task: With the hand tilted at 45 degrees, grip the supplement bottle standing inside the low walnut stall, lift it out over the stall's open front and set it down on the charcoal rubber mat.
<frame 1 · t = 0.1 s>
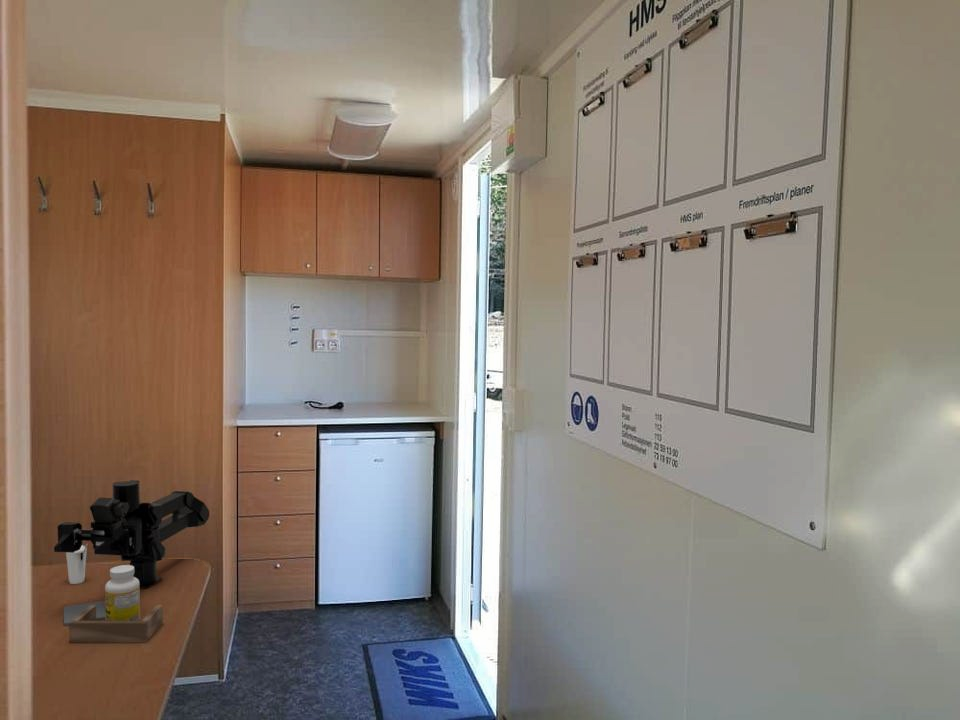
hand: (74, 550, 155), 17 cm above the table, tool horizontal, fingers open, 9 cm apart
charcoal mat: (89, 613, 163), on the table
supplement bottle: (122, 628, 157), on the table
milkshake: (78, 582, 181), on the table
walnut stall: (122, 627, 157), on the table
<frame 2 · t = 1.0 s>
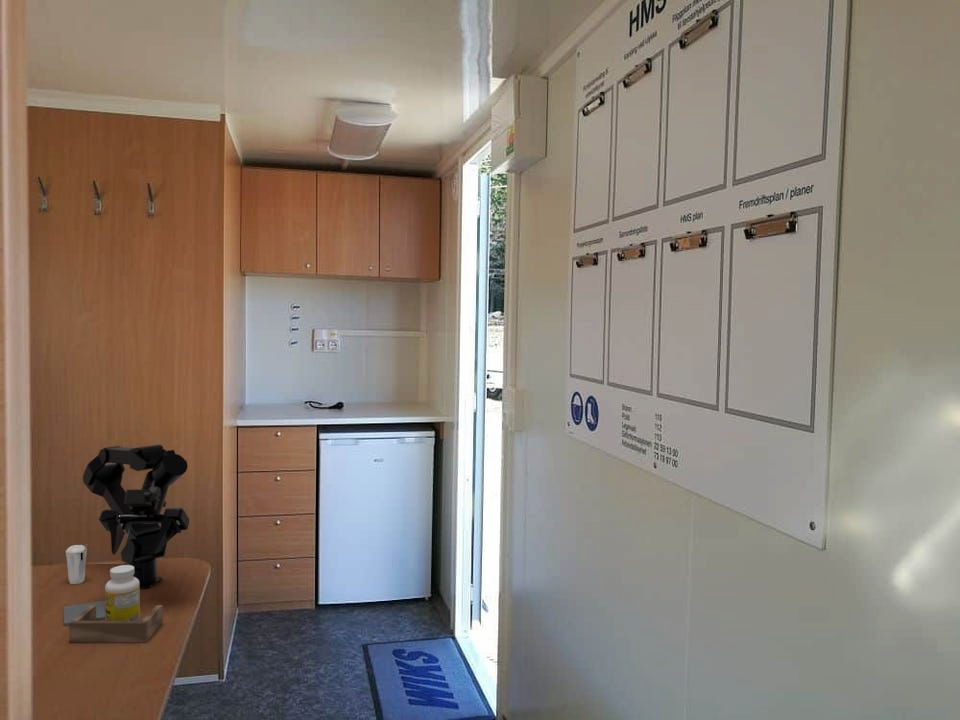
hand: (134, 553, 163), 14 cm above the table, tool tilted 45°, fingers open, 9 cm apart
nothing on the table moved.
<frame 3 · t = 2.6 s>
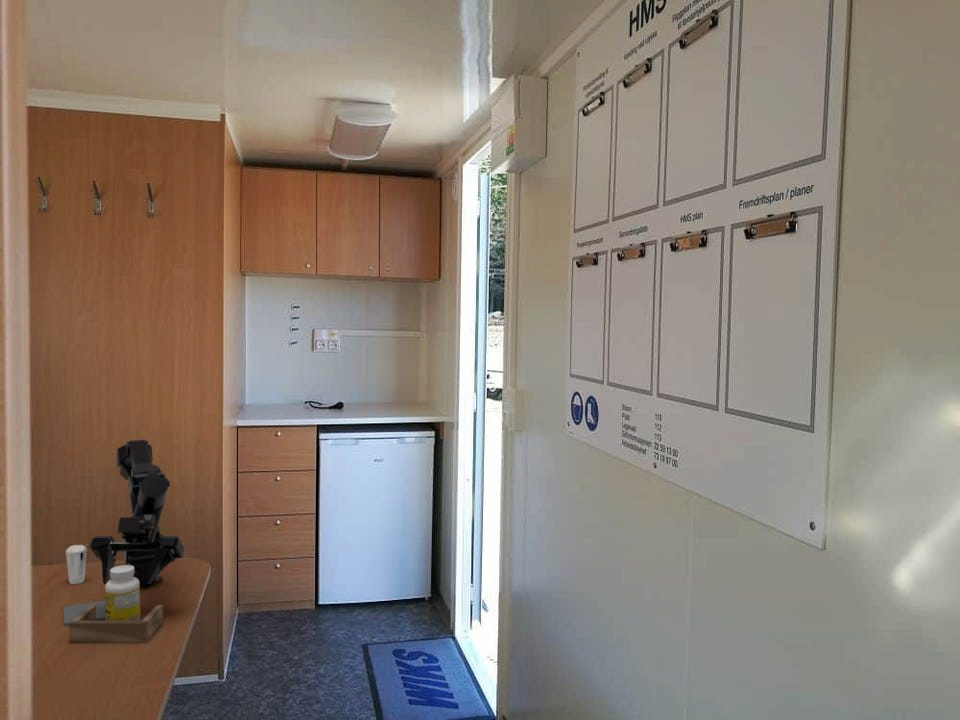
hand: (126, 583, 158), 9 cm above the table, tool tilted 45°, fingers open, 9 cm apart
nothing on the table moved.
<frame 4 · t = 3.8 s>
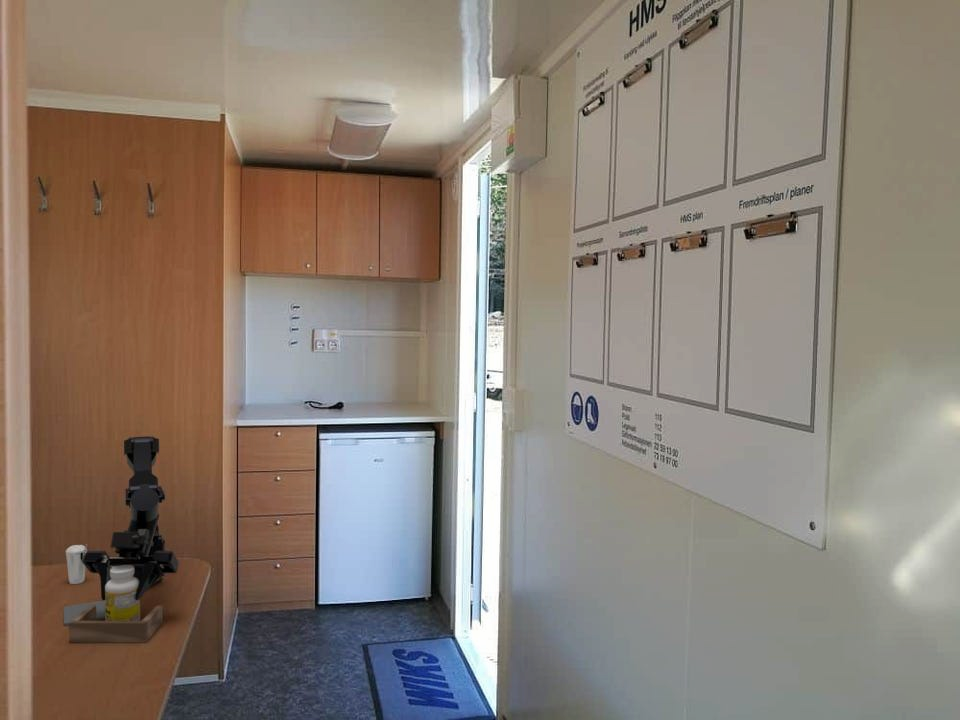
hand: (119, 599, 155), 7 cm above the table, tool tilted 45°, fingers closed on supplement bottle, 7 cm apart
supplement bottle: (122, 628, 157), on the table, touching gripper
everything else where it was.
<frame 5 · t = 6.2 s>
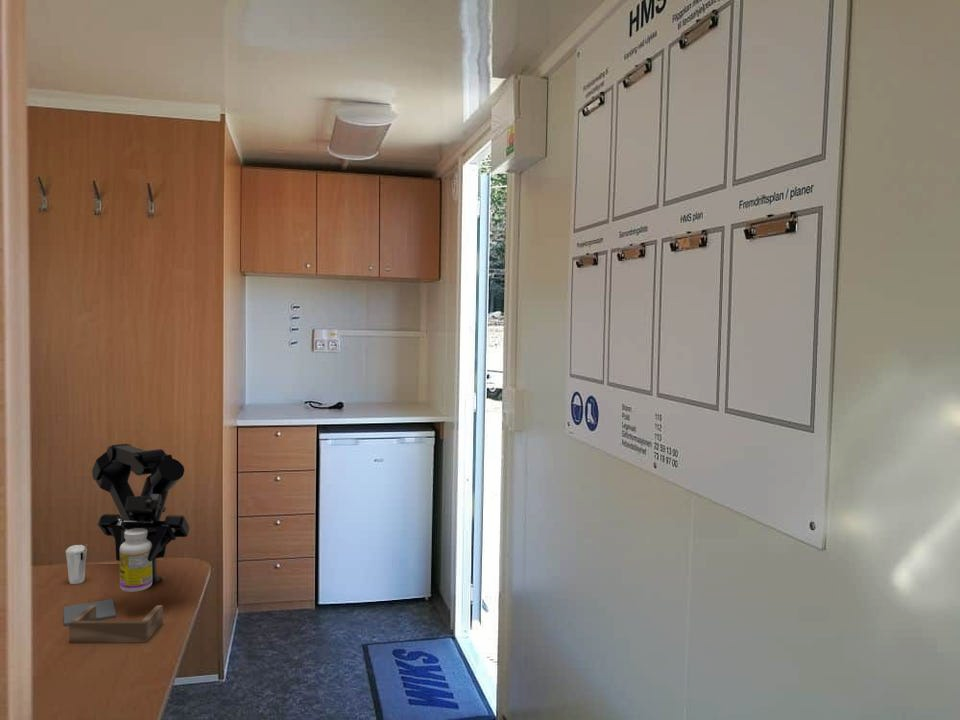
hand: (133, 560, 162), 12 cm above the table, tool tilted 45°, fingers closed on supplement bottle, 7 cm apart
supplement bottle: (136, 588, 164), point 5 cm above the table, touching gripper
everything else where it was.
when the fingers open (8 cm above the table, at t = 8.5 s): supplement bottle stays where it is, resting on charcoal mat.
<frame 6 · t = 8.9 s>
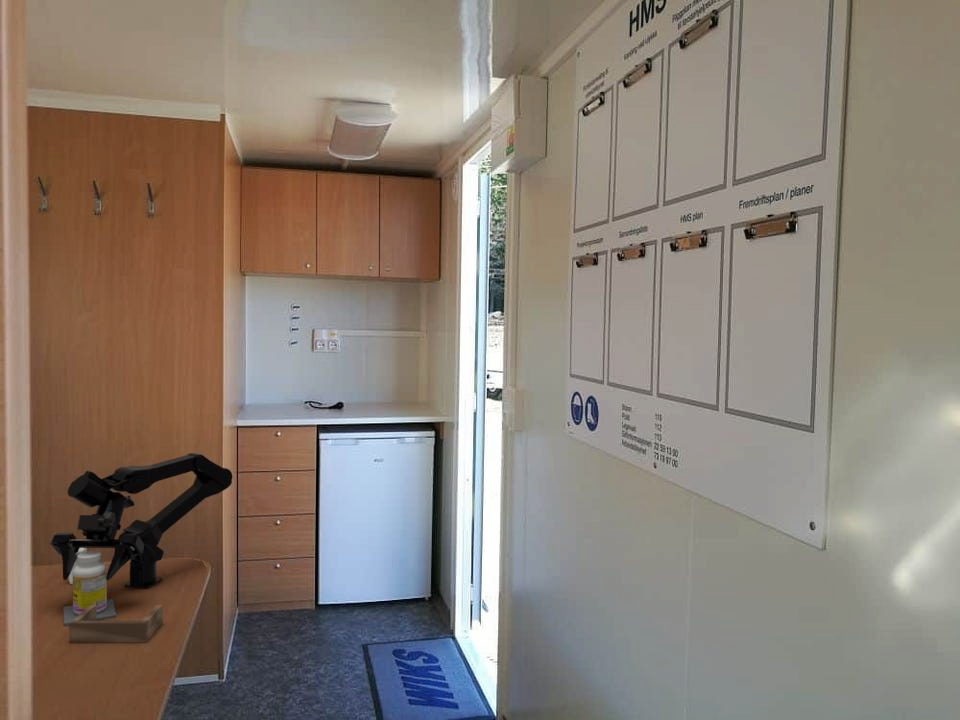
hand: (86, 579, 161), 8 cm above the table, tool tilted 45°, fingers open, 9 cm apart
supplement bottle: (90, 611, 164), resting on charcoal mat
everything else where it was.
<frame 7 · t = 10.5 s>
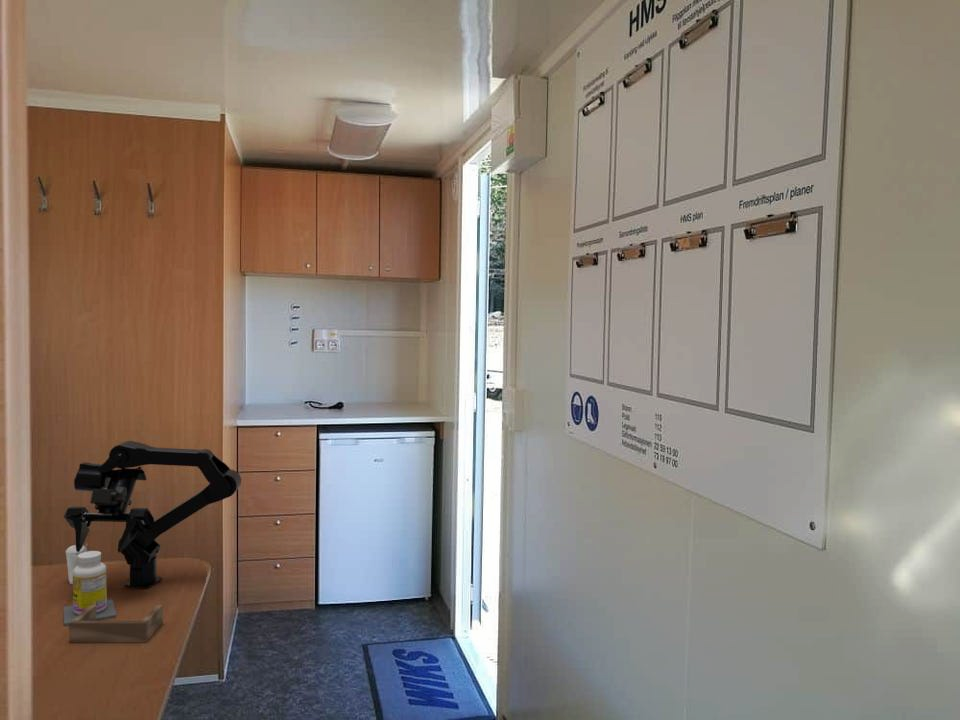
hand: (98, 551, 167), 13 cm above the table, tool tilted 45°, fingers open, 9 cm apart
nothing on the table moved.
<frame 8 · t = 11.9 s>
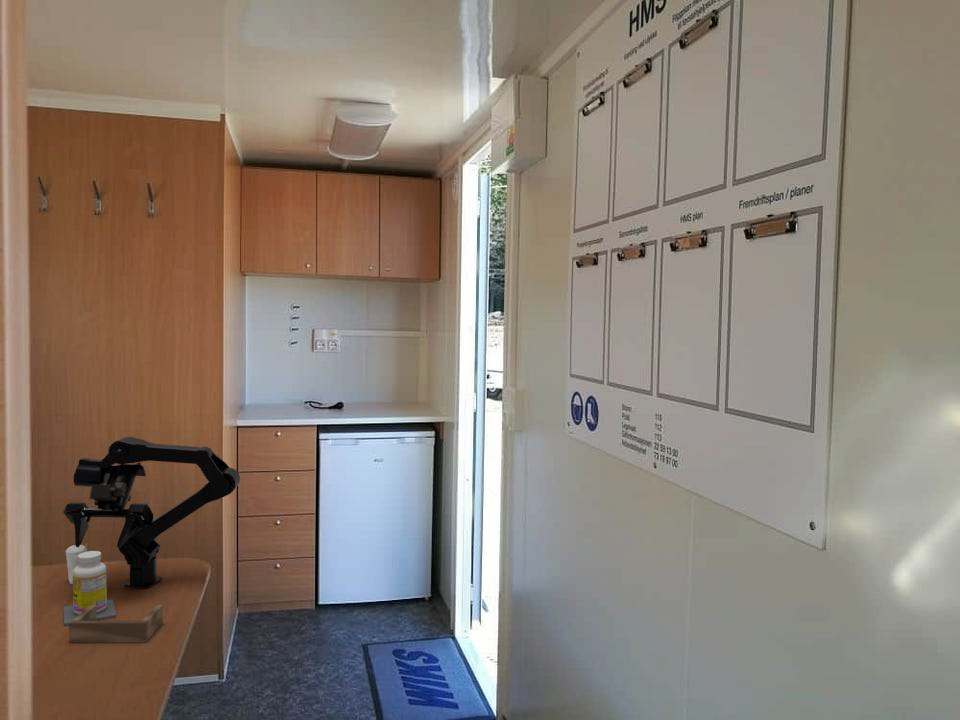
hand: (97, 546, 167), 14 cm above the table, tool tilted 45°, fingers open, 9 cm apart
nothing on the table moved.
at the end: supplement bottle inside the target area on the charcoal mat (0.2 cm from its centre), point 0.3 cm above the charcoal mat's base; supplement bottle tilted 0°; the gripper is holding nothing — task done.
